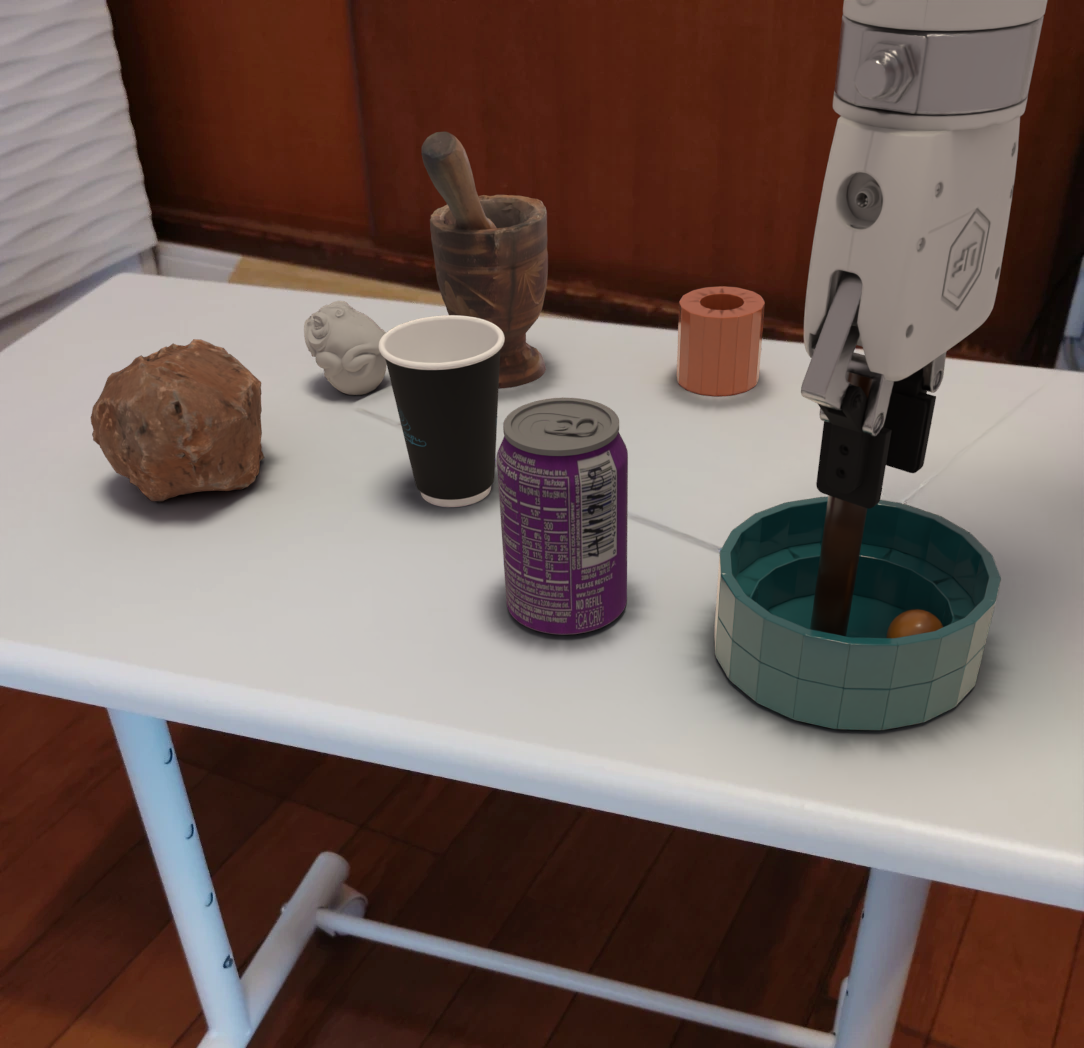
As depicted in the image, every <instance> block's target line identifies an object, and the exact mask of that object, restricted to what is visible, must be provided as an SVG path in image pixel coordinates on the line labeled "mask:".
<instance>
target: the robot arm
mask: <svg viewBox="0 0 1084 1048" xmlns="http://www.w3.org/2000/svg"><path fill="white" fill-rule="evenodd" d="M1047 4H1048V0H843V6H842V17H841V25H840V33H839V44H838V53H837V54H838V55H837V63H836V71H835V82H834V88H833V89H834V90H833V97H832V109H833V111H834V112H835V113H836V114H838V115H839V117H838V118H837V120H836V126H835V129H834V133H833V139H832V143H831V147H830V149H829V155H828V160H827V166H826V169H825V174H824V179H823V184H822V188H821V189H822V190H821V194H820V202H819V205H818V211H817V217H816V221H815V222H816V223H815V227H814V234H813V242H812V247H811V252H810V253H811V255H810V261H809V268H808V276H807V283H806V284H807V285H806V293H805V303H804V317H803V345H804V349H805V352H806V353H807V355H808V357H809V358H810V360H809V364H808V367H807V370H806V372H805V374H804V377H803V380H802V383H801V386H800V394H801V397H803V398H804V399H807V400H809V401H811V402H813V403H815V404H817V406H818V407H819V419H820V421H822V422H823V427H822V432H821V443H820V449H819V450H820V451H819V457H818V458H819V459H818V467H817V474H816V482H815V486H816V489H817V491H818V492H820V493H821V494H823V495H827V496H828V495H829V496H832V497H835V498H838V499H841V500H844V501H847V502H849V503H852V504H855V505H858V506H861V507H864V508H868V509H870V508H873V507H874V506H875V505H876V504H878V503H879V501H880V500H881V497H882V491H883V486H884V480H885V474H886V466H887V467H891V468H893V469H895V470H899V471H903V472H906V473H909V474H916V473H918V471H920V470H921V469H922V468H923V467H924V465H925V460H926V453H927V449H928V444H929V437H930V433H931V427H932V422H933V417H934V411H935V405H936V401H937V396H936V395H933V393H936V392H937V391H938V390H939V389H940V387H941V384H942V382H943V379H944V375H945V365H946V357H947V351H949V350H951V348H953V347H955V346H956V345H957V344H958V343H960V342H962V341H963V340H964V339H965V338H967V337H968V336H969V335H971V334H972V333H974V332H975V331H976V330H977V329H979V328H980V327H981V326H982V325H983V324H984V323H985V322H986V321H987V320H988V318H989V316H991V313H992V311H993V309H994V306H995V303H996V299H997V298H996V297H997V293H998V287H999V281H1000V275H1001V270H1002V263H1003V257H1004V251H1005V245H1006V239H1007V233H1008V228H1009V221H1010V213H1011V206H1012V202H1013V194H1014V186H1015V180H1016V172H1017V164H1018V163H1017V161H1018V155H1019V154H1018V153H1019V139H1020V138H1019V137H1020V125H1021V124H1020V123H1021V117H1022V116H1023V115H1024V114H1025V111H1026V108H1027V103H1028V97H1029V91H1030V85H1031V82H1032V76H1033V71H1034V66H1035V61H1036V56H1037V52H1038V48H1039V47H1038V46H1039V41H1040V36H1041V32H1042V26H1043V23H1044V17H1045V16H1044V15H1045V14H1046V9H1047ZM857 346H858V347H862V349H863V354H861V353H858V352H855V350H856V347H857ZM849 372H850V373H853V374H857V375H860V376H864V377H868V378H871V379H872V382H871V387H870V391H869V396H868V398H867V396H866V394H865V393H864V391H863V390H862V388H861V387H858V386H854V385H852V384H850V382H848V377H849ZM928 392H929V393H932V394H929V393H928Z"/></svg>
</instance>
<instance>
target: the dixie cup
mask: <svg viewBox="0 0 1084 1048" xmlns="http://www.w3.org/2000/svg"><path fill="white" fill-rule="evenodd" d="M385 332H386V333H385V334H384V335H383V336H382V338H381V339H380V341H379V351H380V353H381V355H382V356H383V357H384V358H385V360H386V364H387V368H386V369H387V371H388V376H389V380H390V384H391V385H390V386H391V389H392V392H393V397H394V401H395V405H396V409H397V413H398V418H399V422H400V426H401V430H402V435H403V438H404V442H405V447H406V451H407V454H408V459H409V463H410V468H411V471H412V475H413V480H414V483H415V487H416V489H417V490H418V491H419V492H420V495H421V497H422V499H423V500H425V501H426V502H428V504H431V505H434V506H438V507H443V508H459V507H461V508H462V507H466V506H470V505H474V504H476V503H479V502H480V501H483V500H484V499H485V498H486V497H487V496H489V494H490V493H491V490H492V486H493V483H494V482H495V478H496V477H495V476H496V474H495V473H496V456H497V454H496V453H497V452H496V451H497V433H498V432H497V430H498V409H499V389H500V388H499V365H500V349H501V348H502V346H503V344H504V340H505V337H504V334H503V332H502V330H501V329H500V328H499V327H498V326H496V325H495V324H493V323H491V322H489V321H486V320H483V319H480V318H475V317H469V316H457V315H449V314H446V315H433V316H426V317H421V318H416V319H412V320H409V321H405V322H403V323H400V324H398V325H396V326H394V327H393V328H391V329H389V330H388V331H385ZM498 388H499V389H498Z"/></svg>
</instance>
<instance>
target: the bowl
mask: <svg viewBox="0 0 1084 1048" xmlns="http://www.w3.org/2000/svg"><path fill="white" fill-rule="evenodd" d="M827 502H828V496H817V497H810V498H804V499H797V500H791V501H786V502H782V503H779V504H777V505H774V506H772V507H769V508H766V509H763V510H761V511H758V512H755V513H754V514H751V516H749V517H748V518H747V519H745V520H744V521H742V522H741V523H739V524H738V525H737V526H736V527H734V528H733V529H732V530H731V531H730V532H729V534H728V536H727V537H726V540H725V541H724V543H723V545H722V547H721V549H720V550H719V555H718V569H717V570H718V571H717V585H716V600H715V615H714V616H715V617H714V632H713V633H714V637H713V639H714V656H715V658H716V660H717V661H718V663H719V665H720V667H721V668H722V670H723V672H724V674H725V675H726V677H727V679H728V680H729V681H730V682H731V683H732V684H733V685H735V686H736V687H737V688H738V689H739V690H740V691H742V692H743V693H744V694H745V695H746V696H748V697H749V698H750V699H751V700H753V701H754V702H755V703H756V704H758V705H760V706H763V707H765V708H767V709H769V710H771V711H773V712H775V713H777V714H780V715H782V716H784V717H786V718H789V719H790V720H793V721H797V722H801V723H806V724H811V725H813V726H814V725H815V726H819V727H824V728H828V729H831V730H851V731H852V730H853V731H886V730H891V729H896V728H901V727H908V726H913V725H919V724H923V723H926V722H928V721H930V720H932V719H934V718H937V717H938V716H940V715H942V714H944V713H946V712H948V711H951V710H953V709H955V707H957V706H958V705H959V704H960V702H961V701H962V700H964V698H965V697H966V696H967V695H968V694H969V693H970V691H971V690H973V688H974V687H975V686H976V684H977V680H978V676H979V671H980V667H981V664H982V660H983V655H984V651H985V647H986V643H987V639H988V635H989V631H990V627H991V624H992V619H993V616H994V612H995V607H996V603H997V598H998V594H999V590H1000V586H1001V582H1002V577H1001V574H1000V572H999V569H998V566H997V563H996V561H995V558H994V555H993V554H992V553H991V552H990V551H989V550H988V549H987V547H985V546H984V544H983V543H981V541H980V540H979V539H977V538H976V537H975V535H973V534H972V533H971V531H968V530H966V529H965V528H963V527H961V526H960V525H957V524H956V523H955V522H952V521H951V520H949V519H947V518H945V517H943V516H942V515H939V514H937V513H934V512H930V511H927V510H924V509H921V508H919V507H915V506H912V505H909V504H907V503H902V502H898V501H891V500H884V499H880V501H879V503H878V504H876V505H875V506H874V507H873V508H870V509H868V508H867V513H866V519H865V525H864V531H863V537H862V544H861V550H860V556H859V562H858V568H857V574H856V580H855V586H854V593H853V599H852V605H851V611H850V617H849V623H848V629H847V635H846V636H841V635H836V634H831V633H826V632H821V631H816V630H811V629H810V625H811V618H812V611H813V603H814V596H815V589H816V582H817V575H818V567H819V560H820V553H821V546H822V538H823V531H824V524H825V517H826V509H827ZM914 609H918V610H925V611H928V612H930V613H932V614H933V615H935V616H936V617H937V618H938V619H939V620H940V622H941V623H942V625H943V628H941V629H938V630H936V631H933V632H927V633H921V634H916V635H910V636H904V637H899V638H887V631H888V628H889V626H890V624H891V622H892V621H893V620H894V619H895V618H896V617H897V616H898V615H900V614H901V613H903V612H905V611H908V610H914Z"/></svg>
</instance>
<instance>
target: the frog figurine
mask: <svg viewBox="0 0 1084 1048" xmlns="http://www.w3.org/2000/svg"><path fill="white" fill-rule="evenodd" d="M386 332H387V331H386V330H384V329H383V328H381V326H379V324H378V323H377V322H376V321H375V320H373V318H371V317H370V316H368V315H367V314H365V313H363V312H361V311H359V310H356V309H355V308H354V307H353V306H351V305H349V303H348V302H347V301H345V300H335V301H332V302H330V303H329V304H325V305H323V306H321V307H320V308H319V309H318V310H317V311H316V312H314V313H311V315H310V316H309V317H308V318H306V320H305V321H304V324H303V336H304V342H305V345H306V348H307V351H308V352H309V353H310V355H311V357H313V358H314V359H315V363H316V365H317V366H318V367H319V368H321V369H323V375H324V378H325V379H326V380H327V381H328V382H329V383H330V384H331V386H332V387H334V388H335V390H337V391H339V392H341V393H343V394H346V395H348V396H362V395H366V394H369V393H372V392H373V391H374V390H376V389H377V388H378V386H380V384H381V383H382V382H383V380H384V378H385V376H386V373H387V369H388V368H387V364H386V360H385V358H384V357H383V356H382V355H381V353H380V351H379V341H380V339H381V338H382V336H383V335H384V334H385V333H386Z"/></svg>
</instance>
